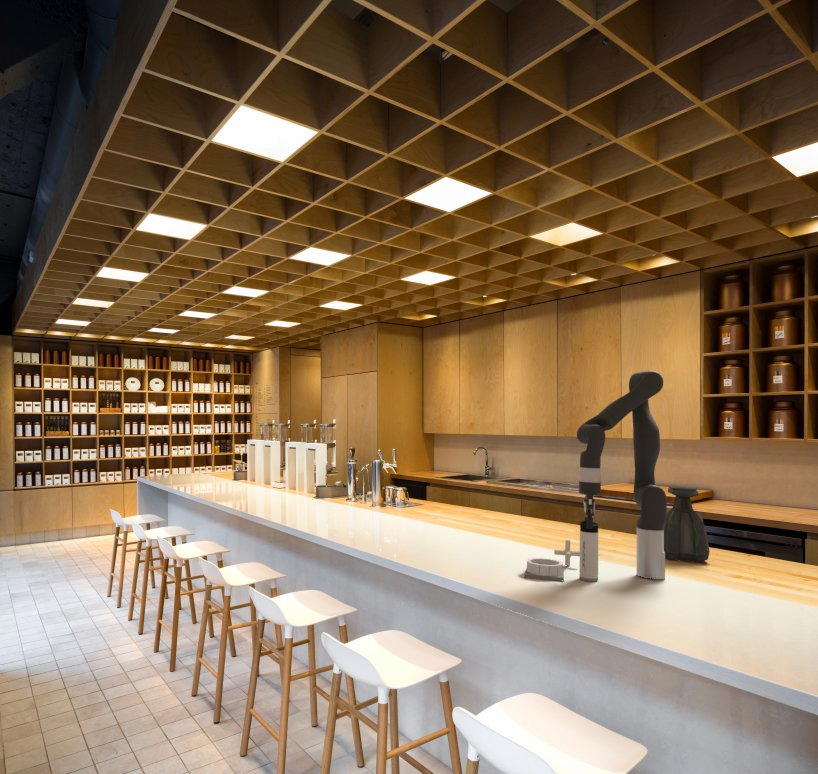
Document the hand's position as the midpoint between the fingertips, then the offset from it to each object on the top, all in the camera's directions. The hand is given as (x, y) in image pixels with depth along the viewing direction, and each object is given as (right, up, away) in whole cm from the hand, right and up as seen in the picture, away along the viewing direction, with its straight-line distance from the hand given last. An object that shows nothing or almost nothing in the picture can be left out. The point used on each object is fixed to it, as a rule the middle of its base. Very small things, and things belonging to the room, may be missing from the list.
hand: (588, 526), depth 204 cm
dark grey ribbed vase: (+54, -24, +43) cm, 73 cm away
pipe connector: (-3, -20, +18) cm, 27 cm away
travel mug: (-1, -18, -2) cm, 18 cm away
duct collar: (-15, -18, +2) cm, 24 cm away
